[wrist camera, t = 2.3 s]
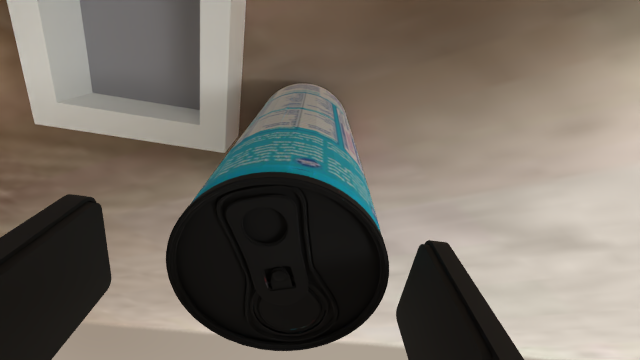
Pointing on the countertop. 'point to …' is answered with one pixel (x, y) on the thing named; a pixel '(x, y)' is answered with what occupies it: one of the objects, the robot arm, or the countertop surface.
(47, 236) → the robot arm
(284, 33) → the countertop surface
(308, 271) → the beverage can
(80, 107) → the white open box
